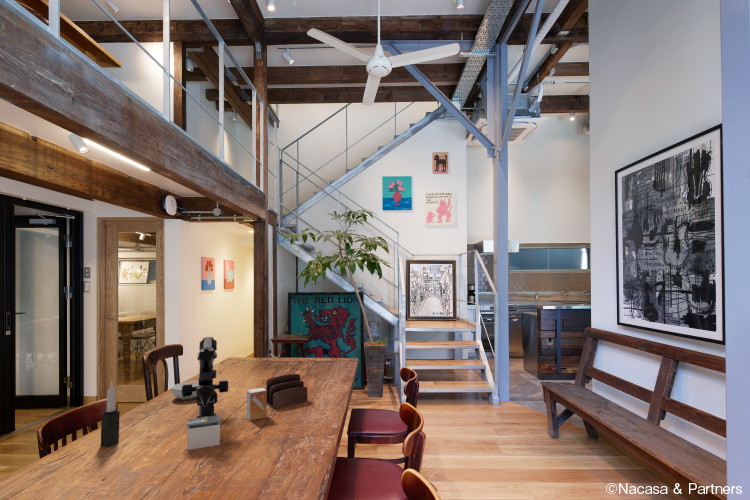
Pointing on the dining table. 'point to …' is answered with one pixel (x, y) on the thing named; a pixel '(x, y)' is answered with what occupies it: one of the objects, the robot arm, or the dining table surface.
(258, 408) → the small box
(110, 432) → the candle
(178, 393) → the cereal bowl
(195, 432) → the storage box
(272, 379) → the letter holder
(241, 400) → the dining table surface
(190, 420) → the lid
